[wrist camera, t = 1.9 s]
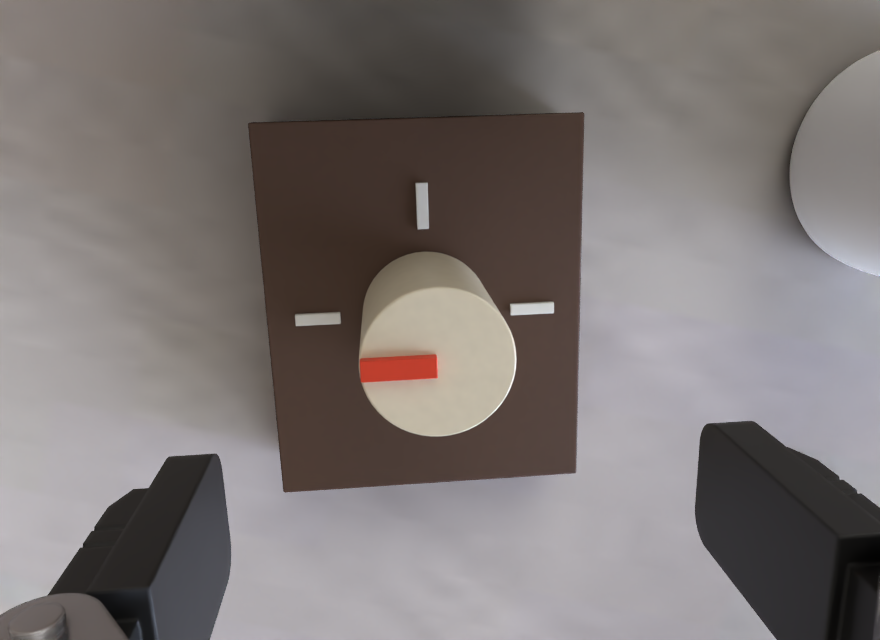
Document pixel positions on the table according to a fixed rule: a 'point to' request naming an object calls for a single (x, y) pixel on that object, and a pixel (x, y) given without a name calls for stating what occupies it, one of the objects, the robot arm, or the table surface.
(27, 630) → the robot arm
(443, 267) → the dial
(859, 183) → the pill bottle
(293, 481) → the plate
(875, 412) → the table surface
